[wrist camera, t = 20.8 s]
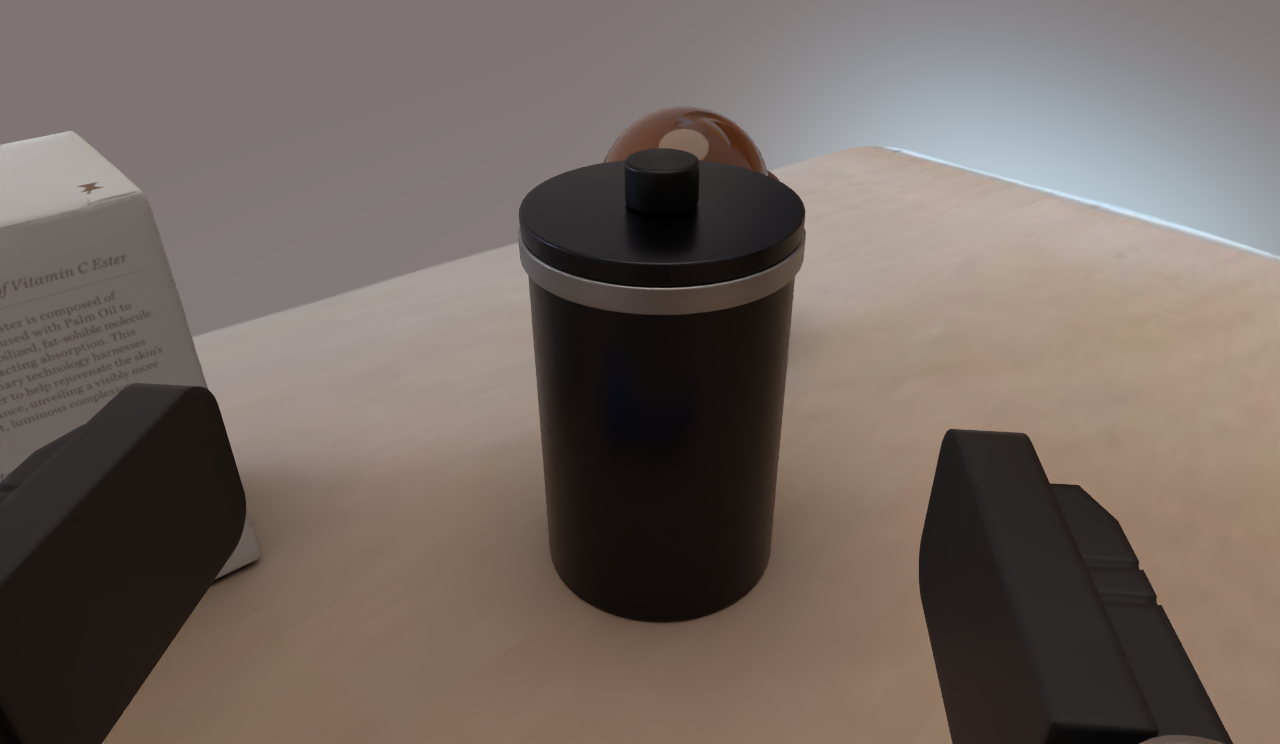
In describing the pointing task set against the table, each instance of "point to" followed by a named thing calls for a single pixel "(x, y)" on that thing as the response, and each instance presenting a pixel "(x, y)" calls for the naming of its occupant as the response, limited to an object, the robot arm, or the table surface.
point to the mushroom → (691, 138)
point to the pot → (661, 374)
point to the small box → (82, 299)
